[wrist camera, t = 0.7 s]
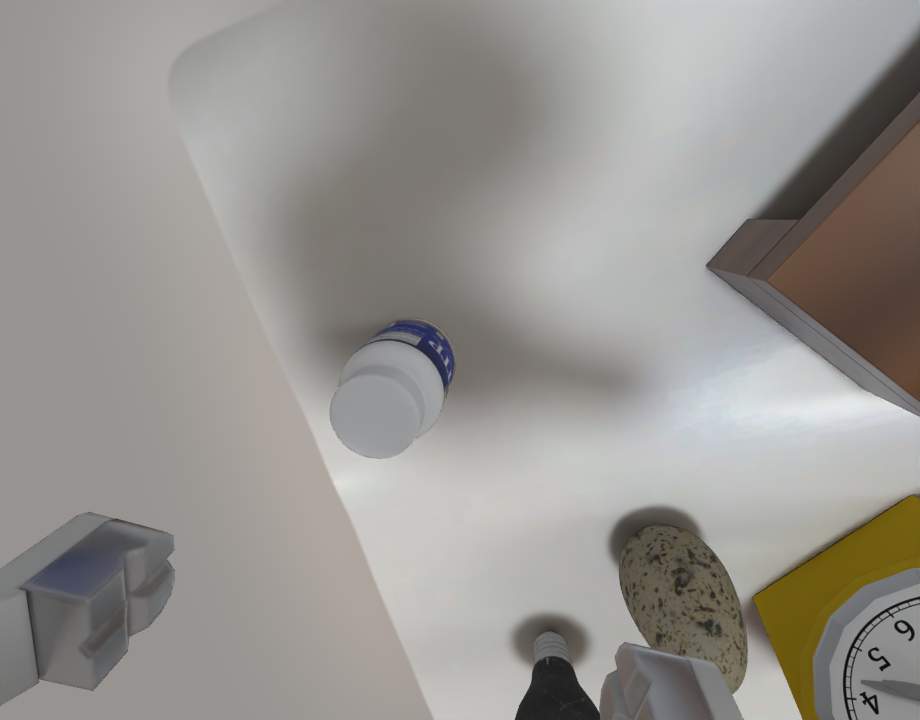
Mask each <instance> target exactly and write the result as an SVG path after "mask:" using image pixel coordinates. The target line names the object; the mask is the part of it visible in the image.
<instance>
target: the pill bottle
mask: <svg viewBox="0 0 920 720" xmlns="http://www.w3.org/2000/svg"><path fill="white" fill-rule="evenodd" d="M455 366H456V358H455V352H454V348H453V346H452V344H451V342H450V340H449V338H448V337H447V336H446V334H445V333H444V332H443V331H442V330H441V329H440V328H438V327H437V326H435V325H434V324H432V323H430V322H428V321H425V320H422V319H416V318H406V319H401V320H397V321H395V322H393V323H391V324H389V325H387V326H386V327H385V328H383V329H382V330H381V331H380V332H379V333H377V334H376V335H375V336H374V337H373V338H372V339H371V340H369V341H368V342H367V343H366V344H365V345H364V346H362V347H361V348H360V349H359V350H358V351H356V352H355V354H354V355H353V356H352V357H351V358H350V359H349V360H348V361H347V363H346V364H345V366H344V368H343V370H342V372H341V375H340V380H339V385H338V389H337V391H336V392H335V394H334V396H333V398H332V401H331V405H330V420H331V424H332V427H333V430H334V431H335V433H336V435H337V437H338V438H339V439H340V441H341V442H342V443H343V444H344V445H345V446H346V447H348V448H349V449H350V450H352V451H354V452H355V453H357V454H359V455H362V456H365V457H369V458H377V459H382V458H388V457H392V456H395V455H398V454H400V453H401V452H403V451H404V450H406V449H407V448H408V447H409V446H410V445H411V444H412V442H413V441H414V439H416V438H418V437H420V436H421V435H423V434H424V433H426V432H427V431H428V430H429V429H430V428H431V427H432V426H433V425H434V423H435V422H436V420H437V418H438V416H439V414H440V412H441V410H442V407H443V404H444V401H445V398H446V395H447V392H448V390H449V387H450V384H451V381H452V378H453V375H454V371H455Z"/></svg>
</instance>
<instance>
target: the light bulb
mask: <svg viewBox="0 0 920 720" xmlns="http://www.w3.org/2000/svg"><path fill="white" fill-rule="evenodd" d="M534 661H535V663H534V668H533V672H532V681H531V684H530V687H529V689H528V691H527V693H526V694H525V696H524V698H523V700H522V702H521V703H520V705H519V708H518V711H517V714H516V718H515V720H600V713H599V711H598V710H597V708H596V706H595V705H594V703H593V702H592V700H591V699H590V698H589V697H588V695H587V694H586V693H585V691H584V690H583V689H582V688H581V686H580V684H579V683H578V681H577V678H576V675H575V672H574V669H573V667H572V666H571V661H570V654H569V649H568V646H567V642H566V640H565V639H564V638H563V637H562V636H561V635H559V634H556V633H554V632H551V631H548V632H545V633H543V634H541V635H540V636H538V637H537V638H536V640H535V642H534Z"/></svg>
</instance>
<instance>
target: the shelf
mask: <svg viewBox="0 0 920 720" xmlns="http://www.w3.org/2000/svg"><path fill="white" fill-rule="evenodd" d="M707 268H709V269H710V270H711V271H713V272H714V273H715V274H716V275H718V276H719V277H720V278H722V279H723V280H724V281H726V282H727V283H728V284H729V285H731V286H732V287H733V288H735V289H736V290H737V291H738V292H740V293H741V294H742V295H744V296H745V297H746V298H747V299H749V300H750V301H751V302H753V303H754V304H755V305H756V306H758V307H759V308H760V309H762V310H763V311H764V312H766V313H767V314H768V315H769V316H771V317H772V318H773V319H775V320H776V321H777V322H778V323H780V324H781V325H782V326H784V327H785V328H786V329H787V330H789V331H790V332H791V333H793V334H794V335H795V336H796V337H798V338H799V339H800V340H802V341H803V342H804V343H806V344H807V345H808V346H809V347H811V348H812V349H813V350H815V351H816V352H817V353H818V354H820V355H821V356H822V357H824V358H825V359H826V360H827V361H829V362H830V363H831V364H833V365H834V366H835V367H836V368H838V369H839V370H840V371H842V372H843V373H844V374H846V375H847V376H848V377H849V378H851V379H852V380H853V381H855V382H856V383H857V384H858V385H860V386H861V387H862V388H864V389H865V390H866V391H868V392H870V393H872V394H874V395H876V396H878V397H880V398H883V399H885V400H887V401H889V402H891V403H893V404H895V405H897V406H899V407H901V408H903V409H905V410H907V411H909V412H911V413H913V414H915V415H918V416H920V92H919V93H918V94H917V95H916V97H915V98H914V99H913V100H912V101H911V102H910V103H909V104H908V105H907V106H906V107H905V108H904V109H903V110H902V112H901V113H900V114H899V115H898V116H897V117H896V118H895V119H894V120H893V121H892V122H891V123H890V124H889V125H888V127H887V128H886V129H885V130H884V131H883V132H882V133H881V134H880V135H879V136H878V137H877V138H876V139H875V140H874V142H873V143H872V144H871V145H870V146H869V147H868V148H867V149H866V150H865V151H864V152H863V153H862V154H861V155H860V156H859V158H858V159H857V160H856V161H855V162H854V163H853V164H852V165H851V166H850V167H849V168H848V169H847V170H846V171H845V173H844V174H843V175H842V176H841V177H840V178H839V179H838V180H837V181H836V182H835V183H834V184H833V185H832V186H831V188H830V189H829V190H828V191H827V192H826V193H825V194H824V195H823V196H822V197H821V198H820V199H819V200H818V201H817V203H816V204H815V205H814V206H813V207H812V208H811V209H810V210H809V211H808V212H807V213H806V214H805V215H804V216H803V218H802V219H801V220H768V219H748V220H747V221H746V222H745V223H744V224H743V225H742V226H741V228H740V229H739V230H738V231H737V232H736V233H735V234H734V235H733V237H732V238H731V239H730V240H729V241H728V242H727V243H726V244H725V245H724V247H723V248H722V249H721V250H720V251H719V252H718V253H717V254H716V256H715V257H714V258H713V259H712V260H711V261H710V262H709V263H708V265H707Z"/></svg>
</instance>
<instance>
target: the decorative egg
mask: <svg viewBox="0 0 920 720" xmlns="http://www.w3.org/2000/svg"><path fill="white" fill-rule="evenodd" d="M619 580H620V586H621V590H622V594H623V597H624V600H625V603H626V605H627V608H628V610H629V612H630V614H631V616H632V618H633V620H634V622H635V624H636V626H637V627H638V629H639V631H640V632H641V634H642V635H643V637H644V638H645V640H646V641H647V643H648V644H649V646H650V647H651V648H653V649H658V650H662V651H666V652H671V653H675V654H679V655H681V656H687V657H691V658H696V659H700V660H704V661H709V662H713V663H714V664H715V665H716V666H717V667H718V668H719V669H720V671H721V673H722V675H723V677H724V679H725V681H726V683H727V686H728V688H729V690H730V692H731V694H733V693H735V692H736V691H737V690H738V688H739V687H740V685H741V684H742V682H743V679H744V677H745V672H746V667H747V652H748V650H747V635H746V629H745V623H744V618H743V614H742V610H741V606H740V602H739V599H738V596H737V593H736V591H735V588H734V586H733V583H732V581H731V579H730V577H729V575H728V573H727V571H726V569H725V567H724V566H723V564H722V563H721V561H720V560H719V558H718V557H717V556H716V554H715V553H714V552H713V551H712V550H711V549H710V547H709V546H707V545H706V544H705V543H704V542H703V541H702V540H701V539H699V538H698V537H696V536H695V535H693V534H692V533H690V532H688V531H686V530H684V529H681V528H678V527H675V526H670V525H653V526H649V527H646V528H643V529H641V530H640V531H638V532H637V533H635V534H634V535H633V536H632V537H631V538H630V539H629V540H628V542H627V543H626V545H625V547H624V549H623V551H622V554H621V558H620V563H619Z"/></svg>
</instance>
